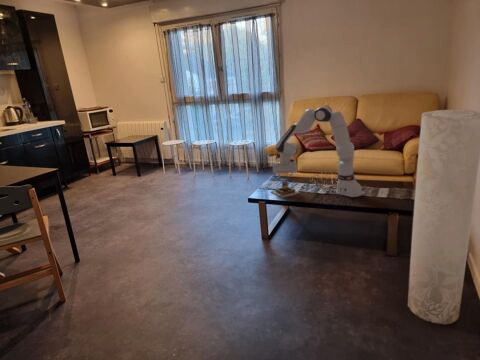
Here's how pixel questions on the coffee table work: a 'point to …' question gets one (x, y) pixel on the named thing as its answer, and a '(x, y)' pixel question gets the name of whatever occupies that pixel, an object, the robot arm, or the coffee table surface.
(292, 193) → the pocket board
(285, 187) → the bobbin
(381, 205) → the coffee table surface
